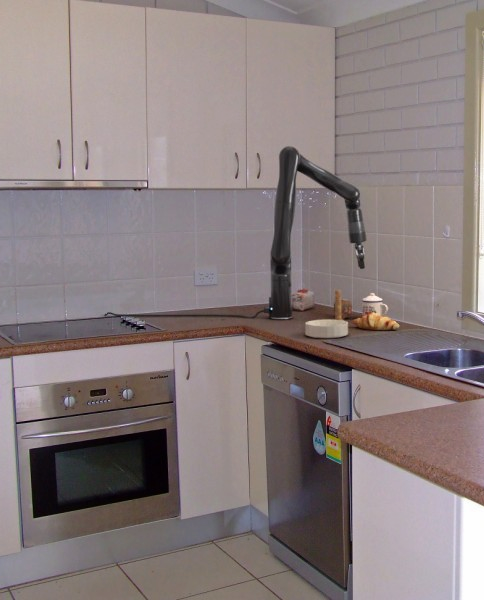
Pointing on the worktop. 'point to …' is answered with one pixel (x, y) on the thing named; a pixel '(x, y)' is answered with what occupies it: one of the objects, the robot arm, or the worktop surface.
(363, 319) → the croissant
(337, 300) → the wooden pestle
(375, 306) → the teacup with lid
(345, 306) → the tin
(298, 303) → the food item
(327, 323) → the bowl
